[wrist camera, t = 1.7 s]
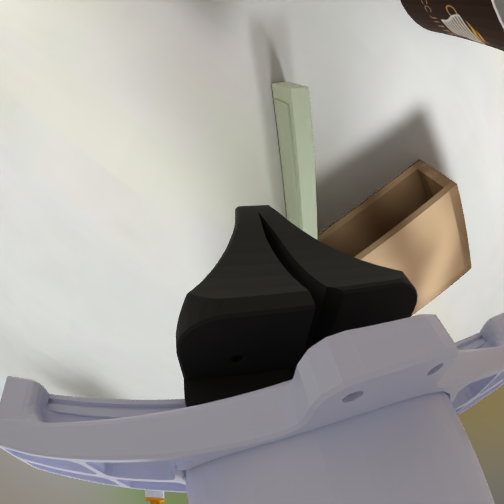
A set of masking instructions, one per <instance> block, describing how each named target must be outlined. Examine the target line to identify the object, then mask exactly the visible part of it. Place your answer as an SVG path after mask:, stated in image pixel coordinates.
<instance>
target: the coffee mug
mask: <svg viewBox="0 0 504 504" xmlns="http://www.w3.org/2000/svg"><path fill="white" fill-rule="evenodd" d="M401 2H402V5H403V7H404V8H405V10H406V11H407V13H408V14H409V15H410V17H411V18H412V19H413V20H414V21H415V22H416V23H417V24H419V25H420V26H421V27H423V28H425V29H427V30H430V31H434V32H439V33H444V34H448V35H452V36H456V37H460V38H464V39H468V40H471V41H475V42H478V43H481V44H485V45H488V46H491V47H494V48H497V49H499V50H502V51H504V0H401Z"/></svg>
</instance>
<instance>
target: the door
mask: <svg viewBox="0 0 504 504" xmlns="http://www.w3.org/2000/svg"><path fill="white" fill-rule="evenodd" d="M271 84H272V91H273V99H274V106H275V114H276V122H277V130H278V138H279V147H280V155H281V164H282V173H283V183H284V193H285V203H286V213H287V220H289V221H290V222H291V223H293V224H294V225H295V226H297V227H298V228H300V229H301V230H303V231H304V232H306V233H307V234H309V235H310V236H312V237H313V238H315V239H317V203H316V180H315V161H314V146H313V132H312V120H311V108H310V98H309V88H308V87H306V86H302V85H298V84H294V83H290V82H277V83H271Z"/></svg>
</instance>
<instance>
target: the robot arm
mask: <svg viewBox="0 0 504 504" xmlns="http://www.w3.org/2000/svg"><path fill="white" fill-rule="evenodd" d="M417 297H418V294H417V291H416V289H415V287H414V286H413V285H412V283H411V282H410V280H409V279H408V278H407V276H406V275H405V274H404V273H403V271H399V270H395V269H391V268H387V267H383V266H379V265H375V264H372V263H369V262H366V261H363V260H360V259H357V258H355V257H352V256H350V255H347V254H345V253H343V252H340V251H338V250H336V249H334V248H332V247H330V246H328V245H326V244H324V243H322V242H320V241H318V240H317V239H315V238H313V237H312V236H310V235H309V234H307V233H306V232H304V231H303V230H301V229H300V228H298V227H297V226H295V225H294V224H293V223H291V222H290V221H289V220H287V219H286V218H285V217H283V216H282V215H281V214H279V213H278V212H277V211H276V210H274V209H273V208H272V207H270V206H269V205H263V206H240V207H237V208H236V209H235V227H234V231H233V234H232V236H231V239H230V241H229V244H228V246H227V248H226V250H225V252H224V253H223V255H222V257H221V258H220V260H219V261H218V263H217V264H216V266H215V267H214V268H213V270H212V271H211V272H210V273H209V274H208V275H207V276H206V278H205V279H204V280H203V281H202V282H201V283H200V284H199V285H197V286H196V287H195V288H194V289H193V290H192V291H190V292H189V293H188V294H187V295H186V298H185V300H184V303H183V306H182V309H181V312H180V315H179V319H178V324H177V330H176V349H177V356H178V360H179V363H180V367H181V370H182V374H183V377H184V393H185V399H172V400H120V399H98V398H84V397H72V396H62V395H54V394H49V393H48V392H47V390H46V389H45V388H44V387H43V386H42V385H41V384H40V383H38V382H36V381H34V380H31V379H25V378H18V377H12V376H8V377H7V380H6V383H5V387H4V390H3V394H2V398H1V402H0V448H2V449H3V450H5V451H6V452H8V453H10V454H11V455H13V456H14V457H16V458H18V459H20V460H21V461H23V462H25V463H27V464H29V465H30V466H32V467H34V468H36V469H39V470H44V471H47V472H51V473H55V474H59V475H63V476H67V477H71V478H76V479H81V480H85V481H90V482H95V483H100V484H106V485H112V486H118V487H125V488H133V489H142V490H152V491H167V492H187V495H188V504H495V503H494V500H493V498H492V495H491V492H490V489H489V486H488V484H487V481H486V479H485V476H484V473H483V471H482V468H481V466H480V464H479V461H478V459H477V456H476V454H475V452H474V449H473V447H472V445H471V443H470V441H469V438H468V436H467V434H466V432H465V430H464V428H463V425H462V423H461V421H460V419H459V417H458V415H459V414H460V413H462V412H464V411H465V410H467V409H468V408H470V407H471V406H473V405H474V404H476V403H477V402H479V401H480V400H482V399H483V398H485V397H486V396H487V395H489V394H490V393H492V392H493V391H495V390H496V389H498V388H499V387H500V386H501V385H502V384H503V383H504V313H501V314H499V315H497V316H494V317H492V318H491V319H489V320H488V321H487V322H486V323H485V325H484V326H483V328H482V329H481V331H480V333H477V334H475V335H473V336H470V337H468V338H465V339H463V340H460V341H458V342H455V343H454V341H453V340H452V338H451V337H450V335H449V334H448V332H447V331H446V329H445V328H444V326H443V325H442V323H441V322H440V320H439V319H438V317H437V316H436V315H432V314H420V315H416V316H412V317H411V315H412V313H413V311H414V309H415V306H416V304H417Z"/></svg>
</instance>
